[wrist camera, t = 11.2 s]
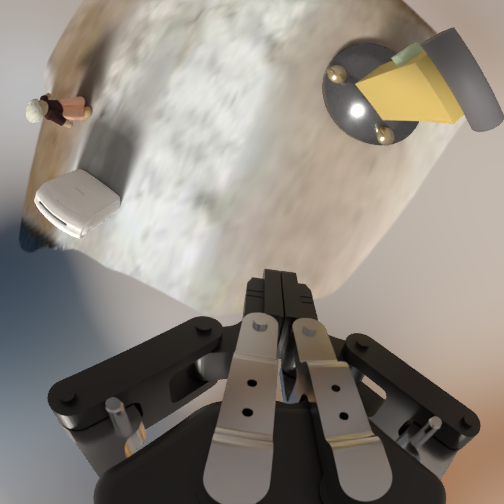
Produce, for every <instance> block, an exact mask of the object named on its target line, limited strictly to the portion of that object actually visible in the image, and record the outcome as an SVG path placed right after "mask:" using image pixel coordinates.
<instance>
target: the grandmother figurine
mask: <svg viewBox="0 0 504 504" xmlns="http://www.w3.org/2000/svg"><path fill="white" fill-rule="evenodd" d="M50 97H51V94H49V93H47V94H46V95H43V96H41V98H40V101H38V99H33V100H31V101H30V102H29V104H28V106H27V109H26V117H27V119H28V120H29V121H30V122H33V123H35V122H38V121H40V120H42V118H43V117H46V119H48V120H52V121H53V122H55V123H57V124H59V125H61V126H65V127H66V126H67V127H68V128H71V127H72V126H73V122H72V121H69V120H67V119H71V120H76V119H78V120H81V121H83V120H85V119H87V118H89V117H90V116H91V114H92V110H91V108H90V107H89V106H86V107H84V105H85V100H84V98H83V97H73V98H68V99H62V100H49V99H50ZM66 118H67V119H66Z"/></svg>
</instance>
